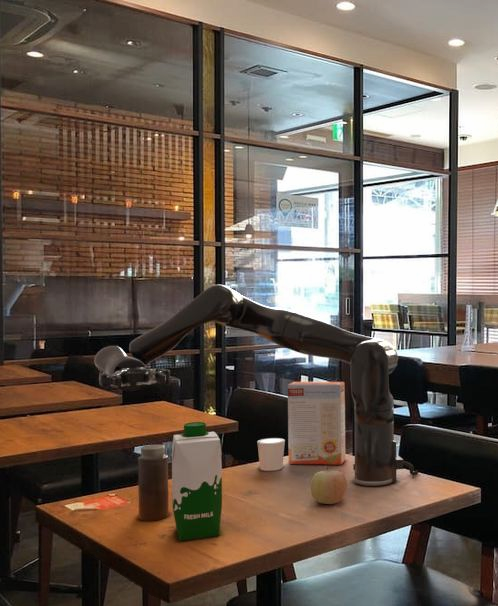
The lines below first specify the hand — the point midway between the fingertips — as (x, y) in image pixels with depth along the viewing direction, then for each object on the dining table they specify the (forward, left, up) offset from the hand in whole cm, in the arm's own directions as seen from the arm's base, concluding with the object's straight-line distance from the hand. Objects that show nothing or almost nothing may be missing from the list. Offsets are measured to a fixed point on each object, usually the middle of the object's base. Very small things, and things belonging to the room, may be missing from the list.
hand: (141, 380), depth 150 cm
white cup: (-29, -20, -26) cm, 44 cm away
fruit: (-38, +13, -26) cm, 48 cm away
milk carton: (-11, +23, -26) cm, 37 cm away
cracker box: (-41, -22, -26) cm, 53 cm away
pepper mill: (-3, +11, -26) cm, 28 cm away
